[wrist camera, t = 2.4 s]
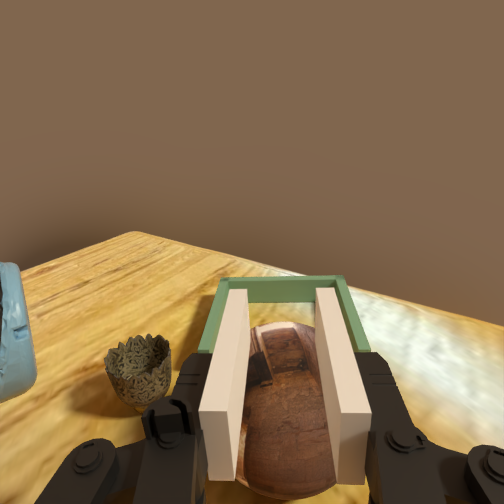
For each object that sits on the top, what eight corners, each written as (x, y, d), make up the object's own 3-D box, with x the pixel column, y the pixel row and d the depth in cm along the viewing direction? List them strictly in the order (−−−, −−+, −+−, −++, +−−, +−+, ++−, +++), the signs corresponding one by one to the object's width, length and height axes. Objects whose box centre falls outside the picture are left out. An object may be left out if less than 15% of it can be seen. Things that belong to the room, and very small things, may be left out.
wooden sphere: (305, 384, 45) (305, 280, 40) (397, 487, 33) (417, 357, 27) (193, 433, 40) (174, 320, 34) (254, 581, 27) (240, 441, 21)
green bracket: (368, 377, 46) (371, 349, 44) (201, 376, 48) (197, 349, 46) (342, 297, 65) (343, 275, 63) (223, 298, 67) (220, 277, 65)
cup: (117, 392, 46) (104, 341, 43) (174, 376, 48) (165, 327, 45) (118, 438, 39) (102, 383, 36) (183, 418, 42) (174, 363, 39)
